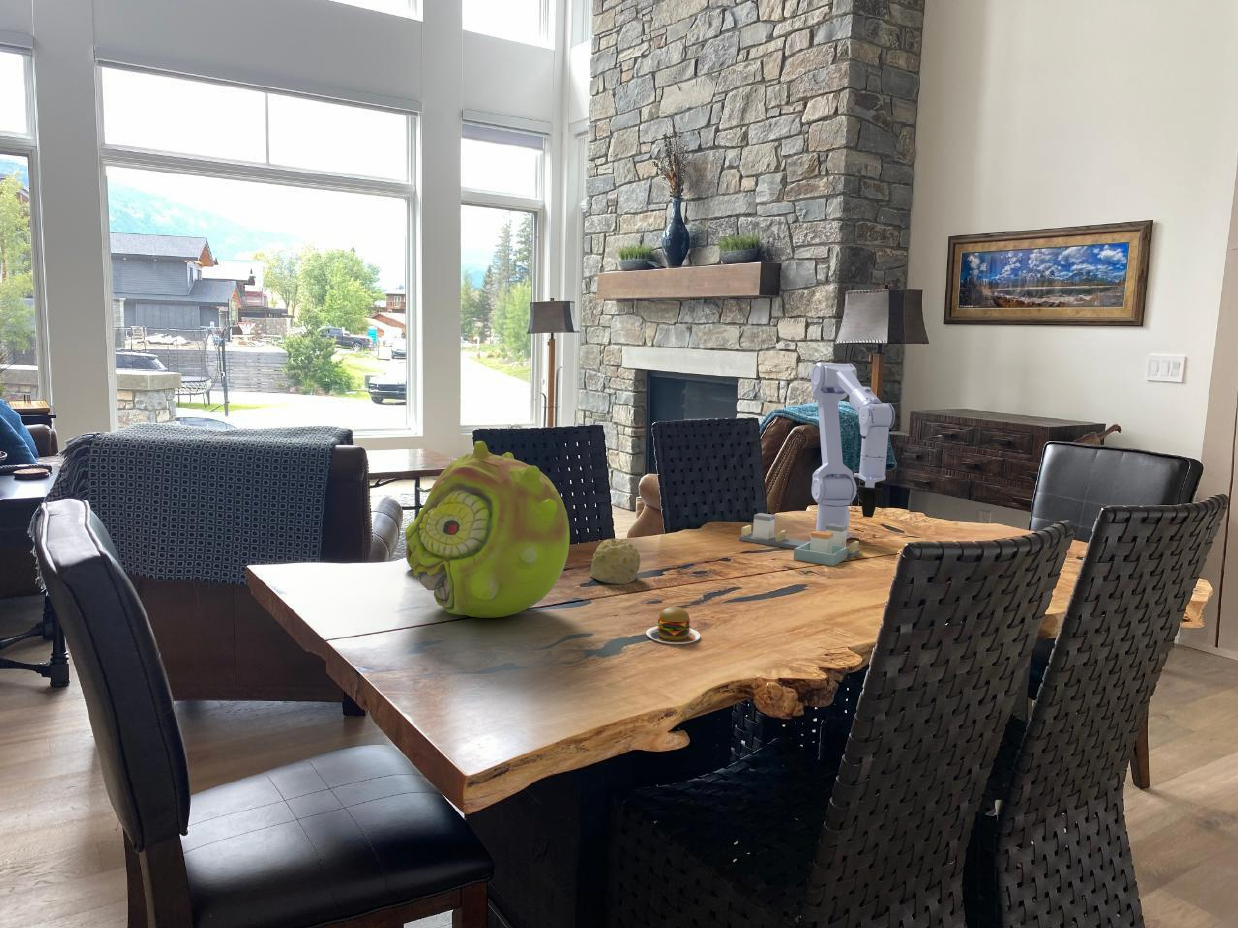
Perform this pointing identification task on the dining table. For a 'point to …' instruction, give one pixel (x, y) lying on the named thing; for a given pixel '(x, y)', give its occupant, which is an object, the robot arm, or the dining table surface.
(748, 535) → the block
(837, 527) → the block
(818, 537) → the block
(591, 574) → the rock
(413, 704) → the dining table surface
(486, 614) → the monster head
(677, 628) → the hamburger
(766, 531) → the block
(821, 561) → the tray
